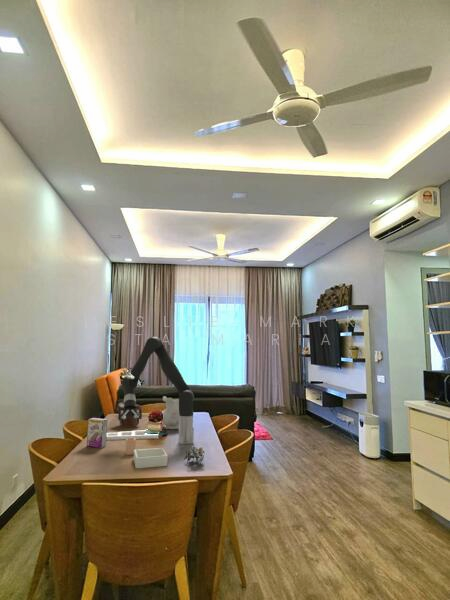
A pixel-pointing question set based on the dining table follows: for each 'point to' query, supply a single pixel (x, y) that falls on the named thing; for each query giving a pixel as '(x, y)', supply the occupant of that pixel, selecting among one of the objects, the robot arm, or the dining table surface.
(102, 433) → the candy bar box
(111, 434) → the holder
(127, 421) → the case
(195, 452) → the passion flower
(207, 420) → the dining table surface
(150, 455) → the tray
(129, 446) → the tub
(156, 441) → the dining table surface
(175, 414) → the ceramic pitcher
